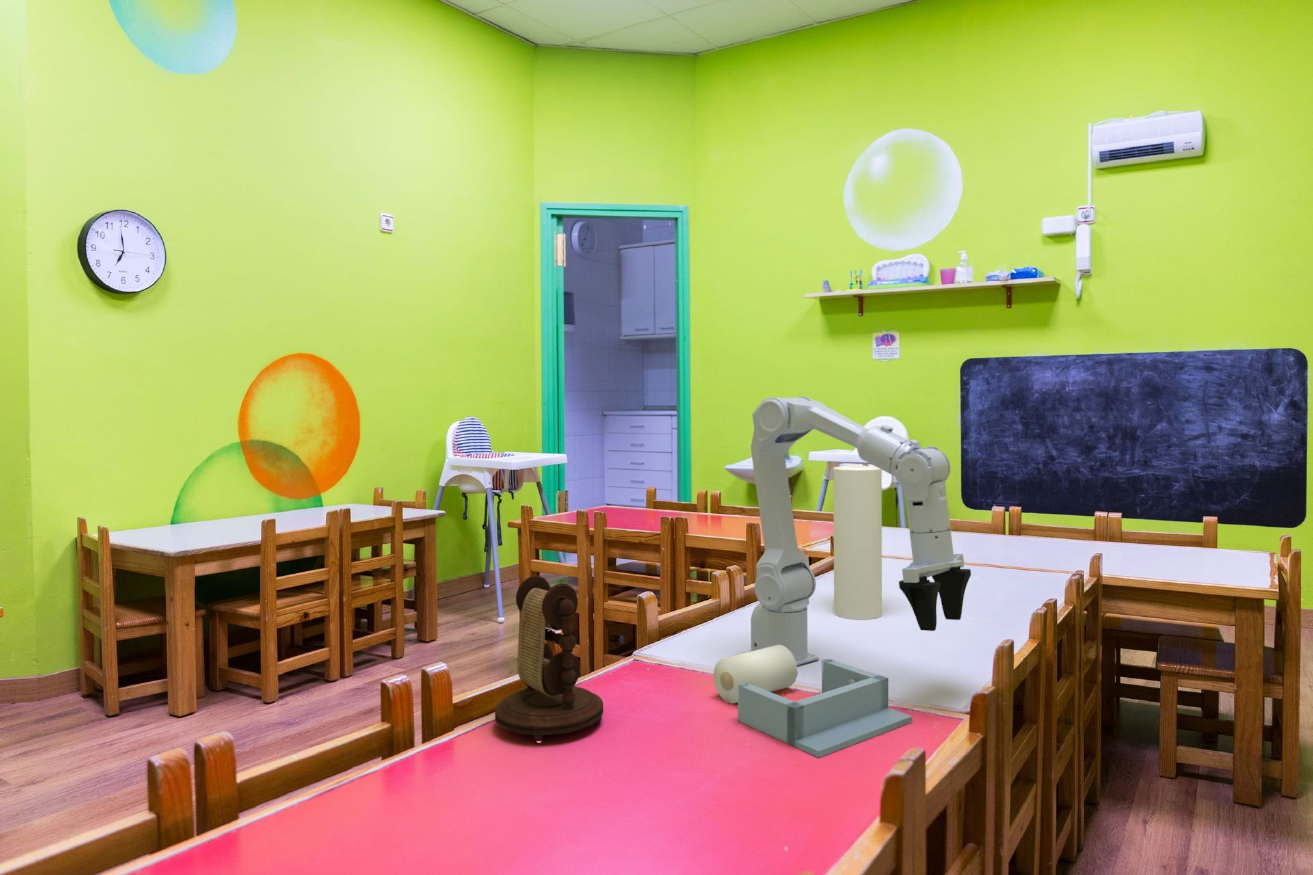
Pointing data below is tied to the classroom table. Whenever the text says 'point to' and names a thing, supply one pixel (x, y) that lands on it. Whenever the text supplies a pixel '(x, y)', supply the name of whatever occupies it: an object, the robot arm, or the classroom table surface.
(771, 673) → the cylinder
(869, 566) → the cylinder container
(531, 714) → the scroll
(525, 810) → the classroom table surface
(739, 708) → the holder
